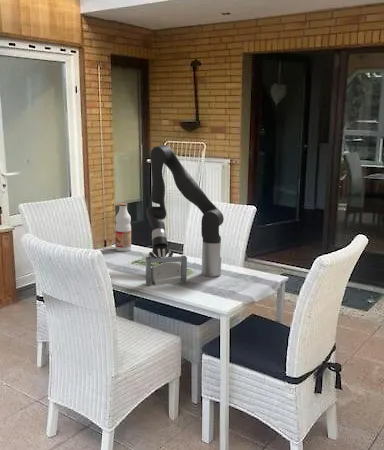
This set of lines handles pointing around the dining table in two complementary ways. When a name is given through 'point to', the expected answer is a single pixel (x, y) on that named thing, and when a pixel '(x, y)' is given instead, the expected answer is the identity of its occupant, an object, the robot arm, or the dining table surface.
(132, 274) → the dining table surface
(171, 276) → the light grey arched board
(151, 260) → the bar
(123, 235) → the fruit juice
